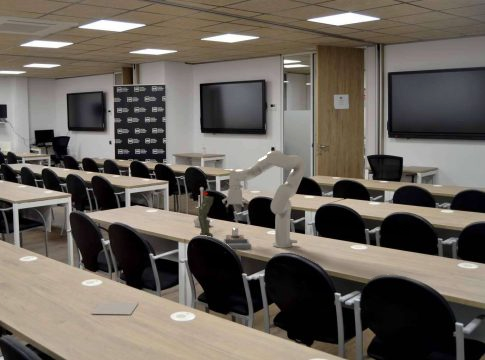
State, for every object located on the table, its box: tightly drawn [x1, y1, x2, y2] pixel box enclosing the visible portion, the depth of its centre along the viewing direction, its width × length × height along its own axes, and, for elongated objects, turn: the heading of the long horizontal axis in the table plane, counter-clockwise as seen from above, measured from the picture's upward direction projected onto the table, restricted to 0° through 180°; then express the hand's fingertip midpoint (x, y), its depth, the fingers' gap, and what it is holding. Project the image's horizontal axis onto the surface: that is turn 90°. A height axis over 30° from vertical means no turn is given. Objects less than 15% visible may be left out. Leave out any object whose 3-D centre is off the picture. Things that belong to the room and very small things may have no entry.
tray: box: [223, 238, 251, 250], centre depth 338 cm, size 16×16×3 cm
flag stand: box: [193, 186, 211, 228], centre depth 402 cm, size 13×13×30 cm
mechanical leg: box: [197, 195, 214, 237], centre depth 363 cm, size 14×7×30 cm, turn 143°
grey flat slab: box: [91, 301, 139, 315], centre depth 222 cm, size 23×25×1 cm
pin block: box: [225, 234, 246, 239], centre depth 355 cm, size 12×12×2 cm
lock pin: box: [231, 227, 239, 238], centre depth 355 cm, size 4×4×8 cm
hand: (234, 212), depth 353 cm, fingers open, 9 cm apart
